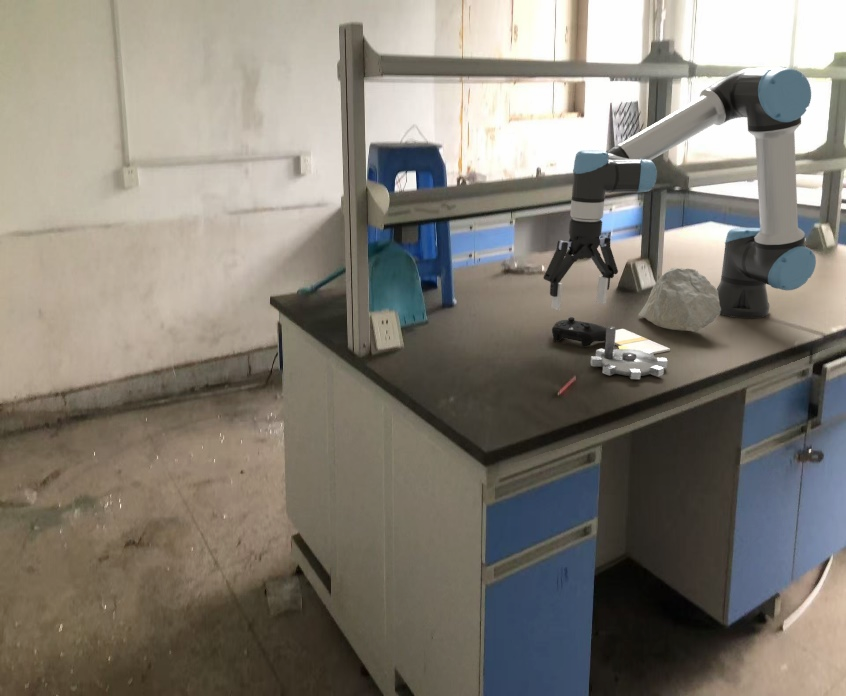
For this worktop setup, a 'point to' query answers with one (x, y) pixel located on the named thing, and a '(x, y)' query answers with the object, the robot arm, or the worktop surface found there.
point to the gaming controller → (578, 331)
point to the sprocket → (627, 359)
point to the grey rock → (682, 301)
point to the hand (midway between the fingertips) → (578, 306)
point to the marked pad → (637, 342)
